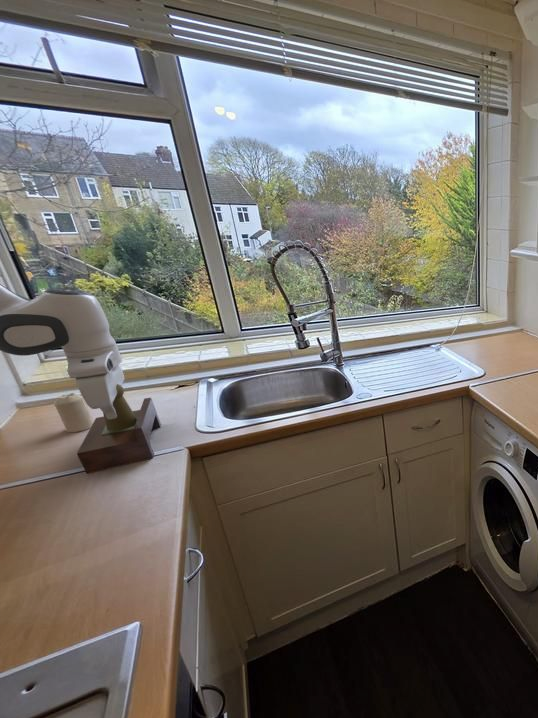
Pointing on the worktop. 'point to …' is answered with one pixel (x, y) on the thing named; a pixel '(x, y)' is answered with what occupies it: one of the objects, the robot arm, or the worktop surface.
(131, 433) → the brown block
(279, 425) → the worktop surface
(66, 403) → the candle
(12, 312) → the robot arm
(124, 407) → the cork
